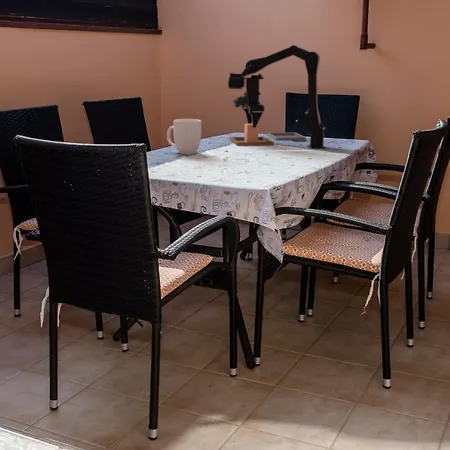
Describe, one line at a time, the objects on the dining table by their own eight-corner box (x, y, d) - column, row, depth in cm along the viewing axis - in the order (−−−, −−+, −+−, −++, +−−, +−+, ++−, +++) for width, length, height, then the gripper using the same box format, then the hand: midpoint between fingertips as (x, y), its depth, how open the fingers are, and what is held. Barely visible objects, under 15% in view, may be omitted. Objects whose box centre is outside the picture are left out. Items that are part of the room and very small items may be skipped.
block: (258, 143, 284) (258, 125, 282) (246, 143, 283) (247, 125, 281) (255, 141, 289) (255, 123, 287) (244, 141, 288) (244, 123, 286)
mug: (160, 152, 260) (159, 120, 257) (174, 149, 269) (174, 117, 266) (192, 156, 254) (192, 122, 250) (206, 152, 263) (206, 119, 259)
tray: (305, 141, 297) (305, 137, 297) (275, 141, 294) (276, 137, 294) (295, 136, 312) (295, 132, 312) (266, 136, 309) (266, 132, 309)
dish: (273, 146, 280) (273, 141, 280) (237, 147, 277) (237, 142, 277) (264, 141, 295) (264, 136, 295) (229, 141, 292) (229, 137, 292)
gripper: (229, 88, 287) (229, 123, 291) (239, 91, 269) (238, 129, 274) (254, 88, 289) (253, 123, 293) (265, 91, 272) (264, 128, 276)
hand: (251, 126), depth 284 cm, fingers open, 9 cm apart
